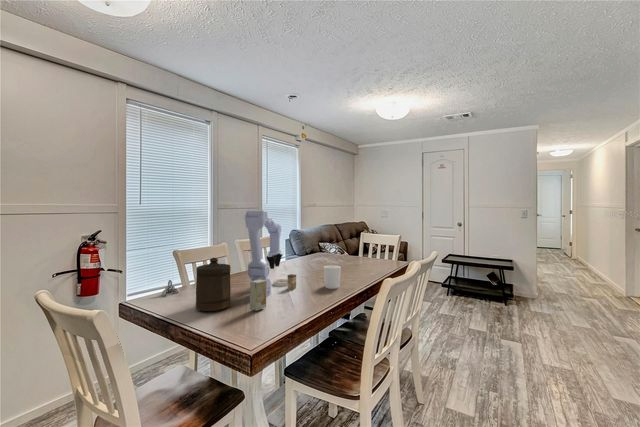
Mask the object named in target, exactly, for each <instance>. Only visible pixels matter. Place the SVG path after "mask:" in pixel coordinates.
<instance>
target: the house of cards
mask: <svg viewBox="0 0 640 427" xmlns="http://www.w3.org/2000/svg"><path fill="white" fill-rule="evenodd" d="M177 294H179V290H178V289H177V288H176V287H175V285H173V282H172V280H171V279H170V280H168V282H167V286H166V287H165V288H164V289H163V291H162V292H161V297H165V298H168V297H169V296H173V295H177Z"/></svg>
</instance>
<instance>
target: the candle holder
mask: <svg viewBox="0 0 640 427" xmlns="http://www.w3.org/2000/svg"><path fill="white" fill-rule="evenodd" d="M341 269H342V266H341V265H335V264H331V265H330V264H328V265H324V266H323V277H324V278H323V279H324V288H326V289H331V290H333V289H334V290H336V289H339V288H340V286H341V271H342V270H341Z"/></svg>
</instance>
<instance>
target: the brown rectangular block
mask: <svg viewBox="0 0 640 427" xmlns="http://www.w3.org/2000/svg"><path fill="white" fill-rule="evenodd" d="M287 279H288V285H287V290H289V291H294V290H295V289H297V274H293V273H292V274H291V273H290V274H288V275H287Z"/></svg>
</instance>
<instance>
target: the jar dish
mask: <svg viewBox="0 0 640 427" xmlns="http://www.w3.org/2000/svg"><path fill="white" fill-rule="evenodd" d="M272 282H273V285H274V286H275V287H288V278H277V279H275V280H273V281H272Z"/></svg>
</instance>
